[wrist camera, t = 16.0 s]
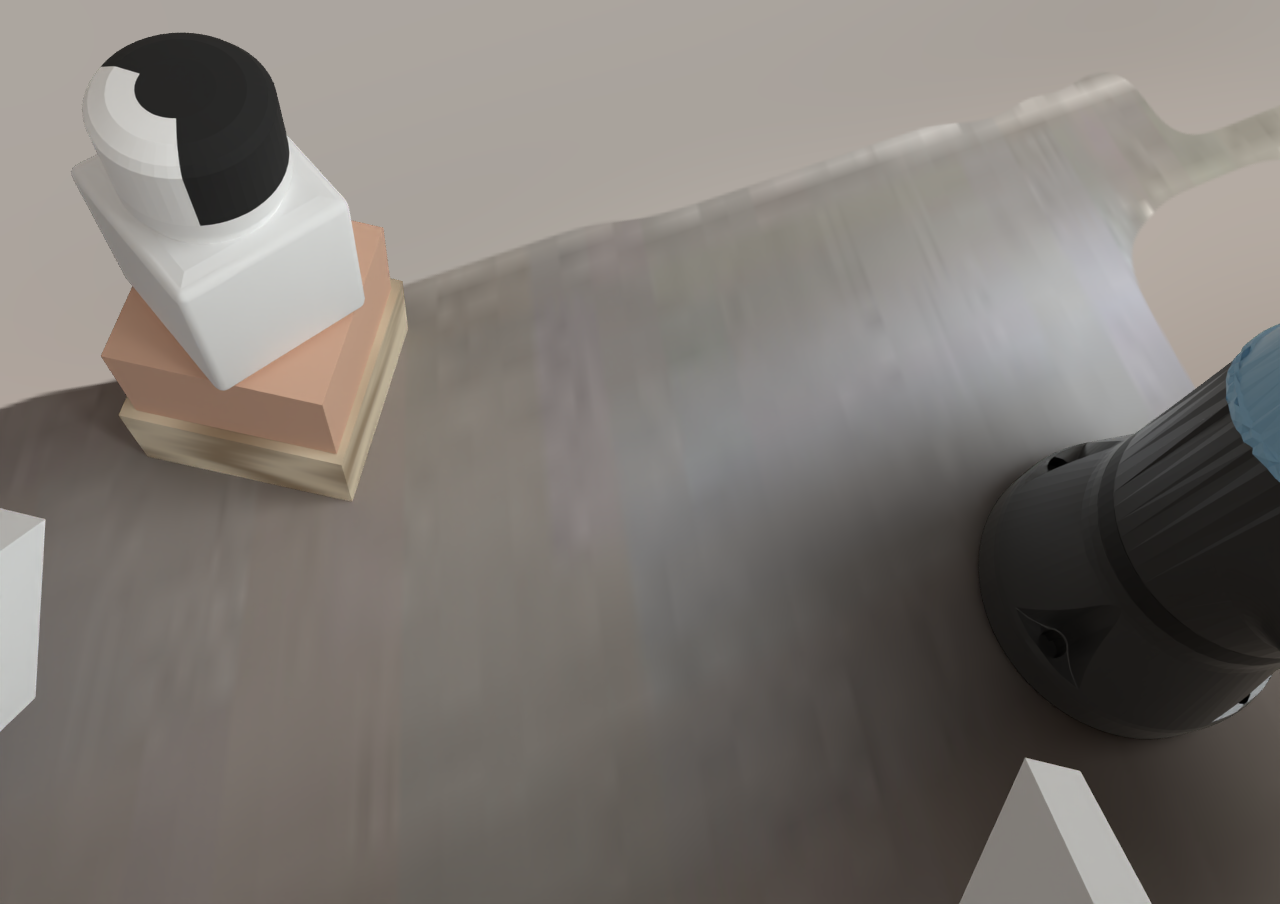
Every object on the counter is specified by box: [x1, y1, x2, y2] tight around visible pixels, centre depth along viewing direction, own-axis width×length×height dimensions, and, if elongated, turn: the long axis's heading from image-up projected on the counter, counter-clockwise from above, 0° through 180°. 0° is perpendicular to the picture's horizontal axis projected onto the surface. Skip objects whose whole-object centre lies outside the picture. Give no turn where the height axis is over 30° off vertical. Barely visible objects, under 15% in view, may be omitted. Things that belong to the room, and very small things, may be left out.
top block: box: [101, 220, 391, 454], centre depth 48 cm, size 9×9×5 cm
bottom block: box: [119, 278, 408, 502], centre depth 52 cm, size 10×10×5 cm
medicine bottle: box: [71, 33, 365, 391], centre depth 40 cm, size 7×7×12 cm
